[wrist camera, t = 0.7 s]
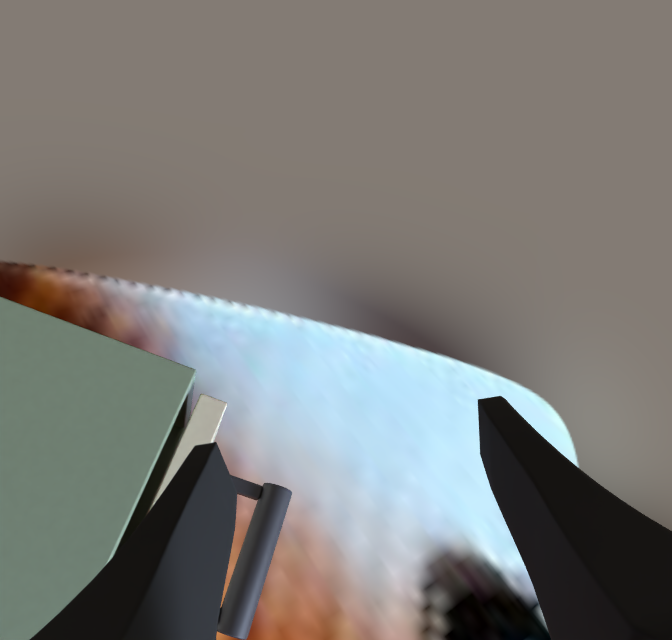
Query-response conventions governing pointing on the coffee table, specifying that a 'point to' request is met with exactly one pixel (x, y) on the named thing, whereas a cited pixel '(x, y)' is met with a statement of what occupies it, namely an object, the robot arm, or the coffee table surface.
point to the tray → (261, 529)
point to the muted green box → (75, 456)
